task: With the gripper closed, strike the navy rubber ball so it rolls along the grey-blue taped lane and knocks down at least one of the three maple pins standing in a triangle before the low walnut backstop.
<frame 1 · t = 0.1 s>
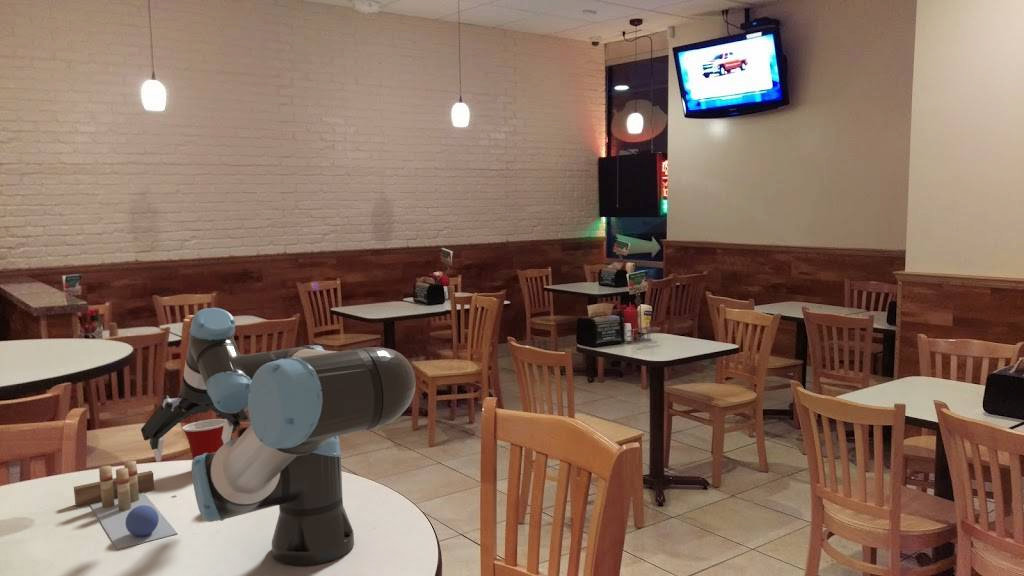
hand: (191, 449, 162), 15 cm above the table, tool tilted 35°, fingers open, 13 cm apart
ball: (142, 520, 156), on the table
backstop: (115, 496, 178), on the table
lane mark: (131, 519, 165), on the table
pin left: (108, 506, 172), on the table
plastic cup: (208, 470, 195), on the table
pin right: (133, 501, 175), on the table
pin front: (125, 509, 170), on the table
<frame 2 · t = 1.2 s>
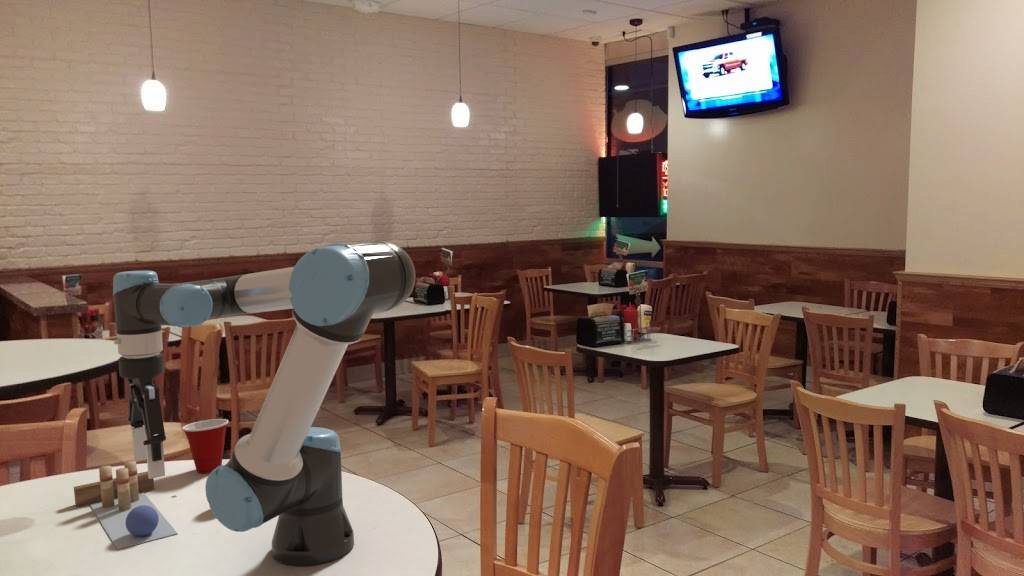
hand: (149, 468, 147), 16 cm above the table, tool pointing down, fingers open, 11 cm apart
nothing on the table moved.
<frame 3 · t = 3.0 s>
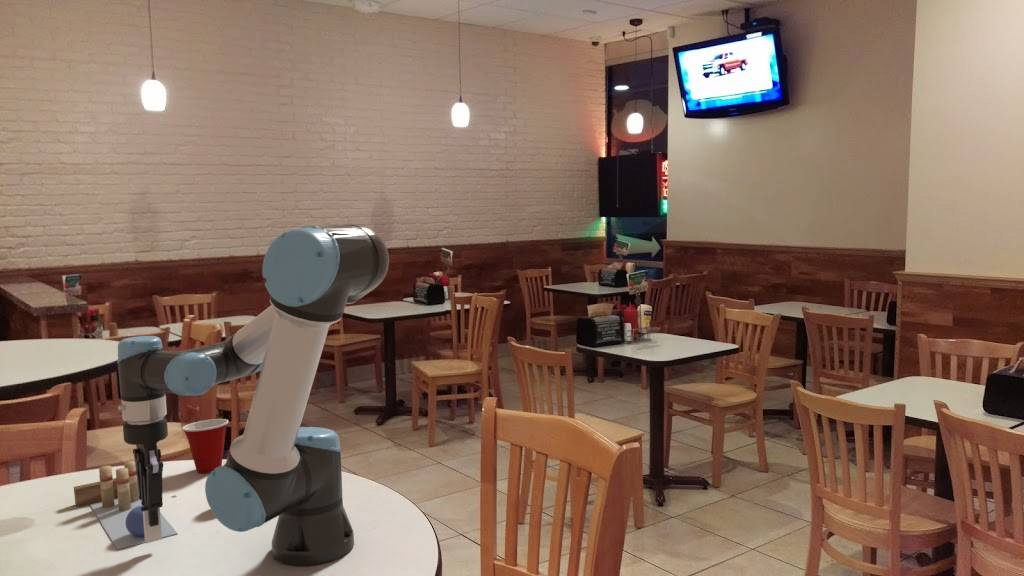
hand: (153, 539, 149), 2 cm above the table, tool pointing down, fingers closed
nothing on the table moved.
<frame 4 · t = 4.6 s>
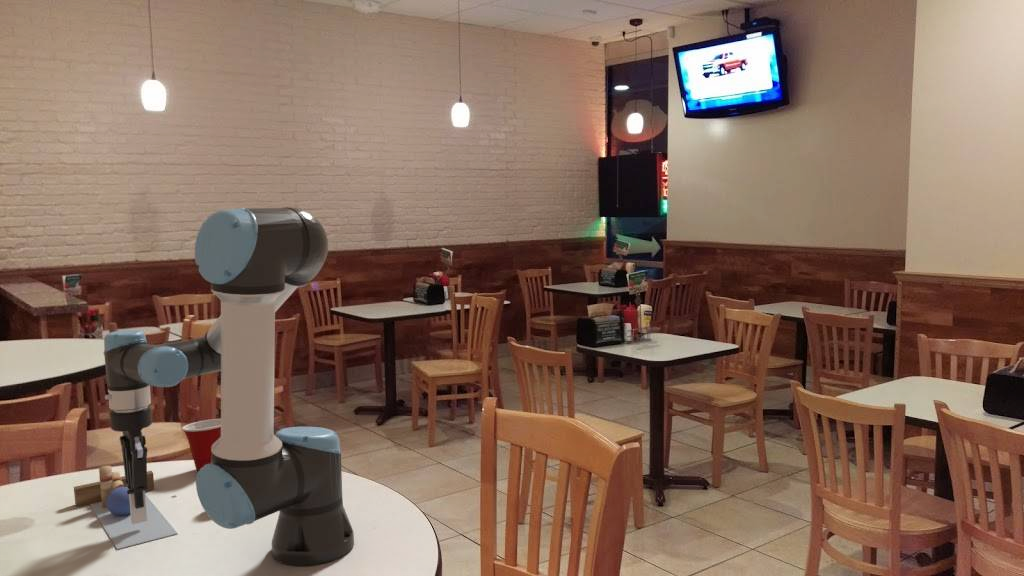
hand: (139, 521, 159), 2 cm above the table, tool pointing down, fingers closed
ball: (122, 501, 167), on the table
pin front: (123, 503, 170), point 1 cm above the table, tilted 62°, touching backstop
everything else where it was.
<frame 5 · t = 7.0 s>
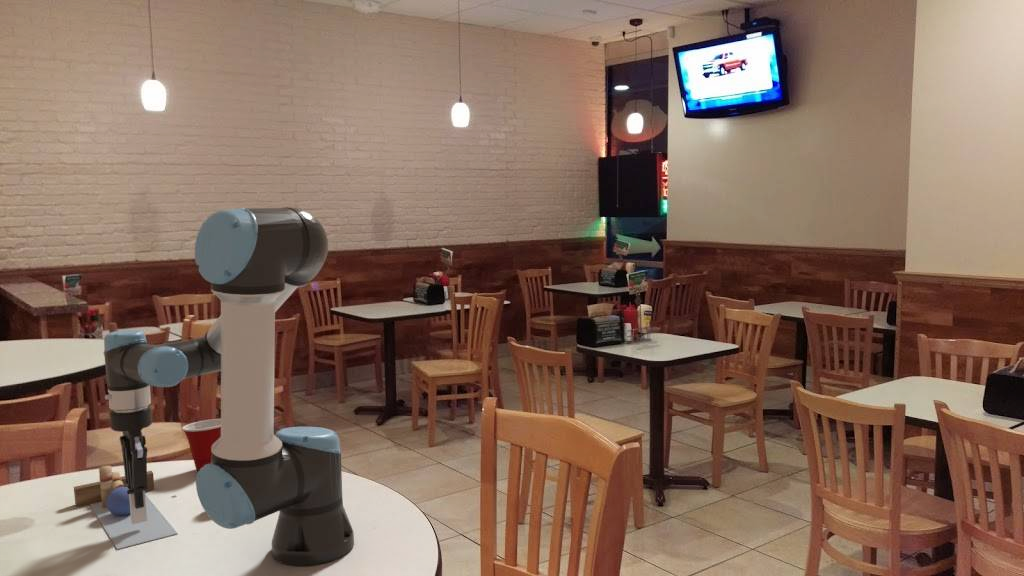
hand: (139, 521, 159), 2 cm above the table, tool pointing down, fingers closed
nothing on the table moved.
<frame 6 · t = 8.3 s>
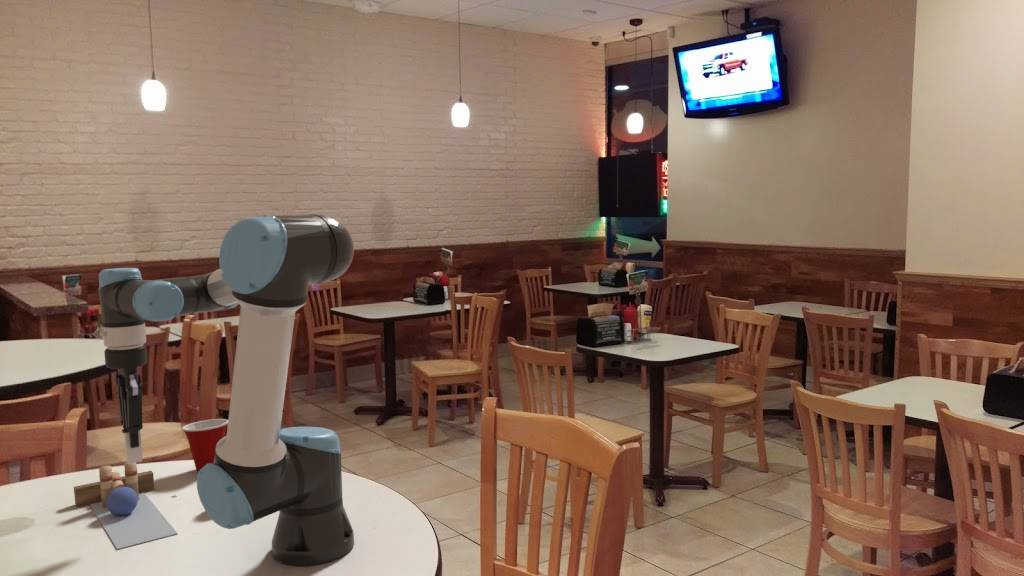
hand: (134, 461, 157), 14 cm above the table, tool pointing down, fingers closed
nothing on the table moved.
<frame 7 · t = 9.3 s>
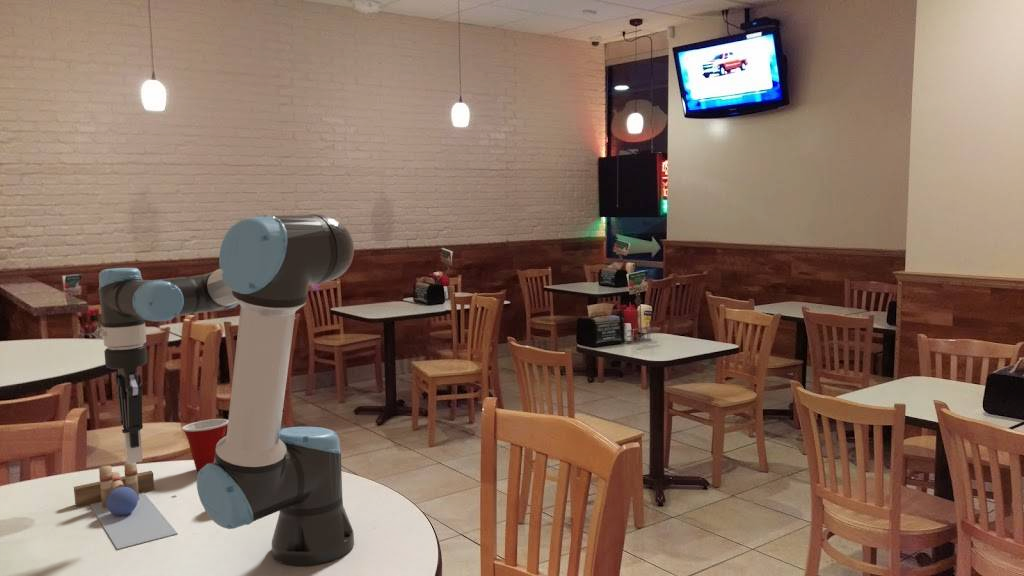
hand: (134, 461, 157), 14 cm above the table, tool pointing down, fingers closed
nothing on the table moved.
at the end: 1 of 3 knocked over (down: pin front; still standing: pin left, pin right); pin front never touched the robot; ball moved 14.2 cm from its start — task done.
